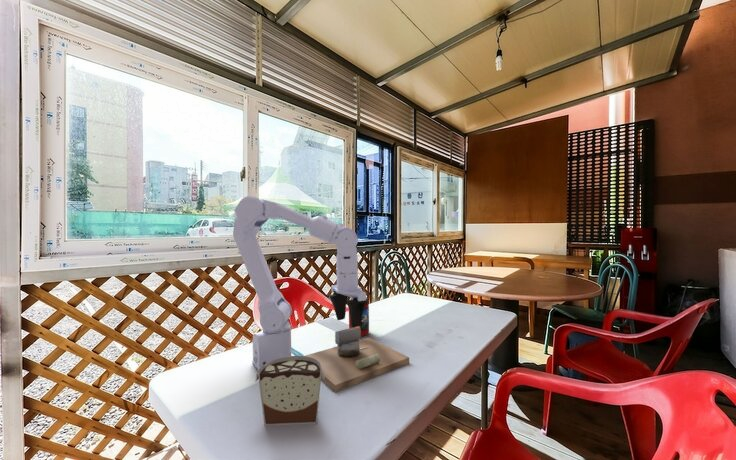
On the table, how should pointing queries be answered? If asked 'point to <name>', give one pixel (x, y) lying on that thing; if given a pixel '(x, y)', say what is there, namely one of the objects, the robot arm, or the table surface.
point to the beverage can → (363, 320)
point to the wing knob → (348, 341)
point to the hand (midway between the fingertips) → (348, 322)
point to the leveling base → (347, 365)
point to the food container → (290, 390)
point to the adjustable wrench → (296, 352)
